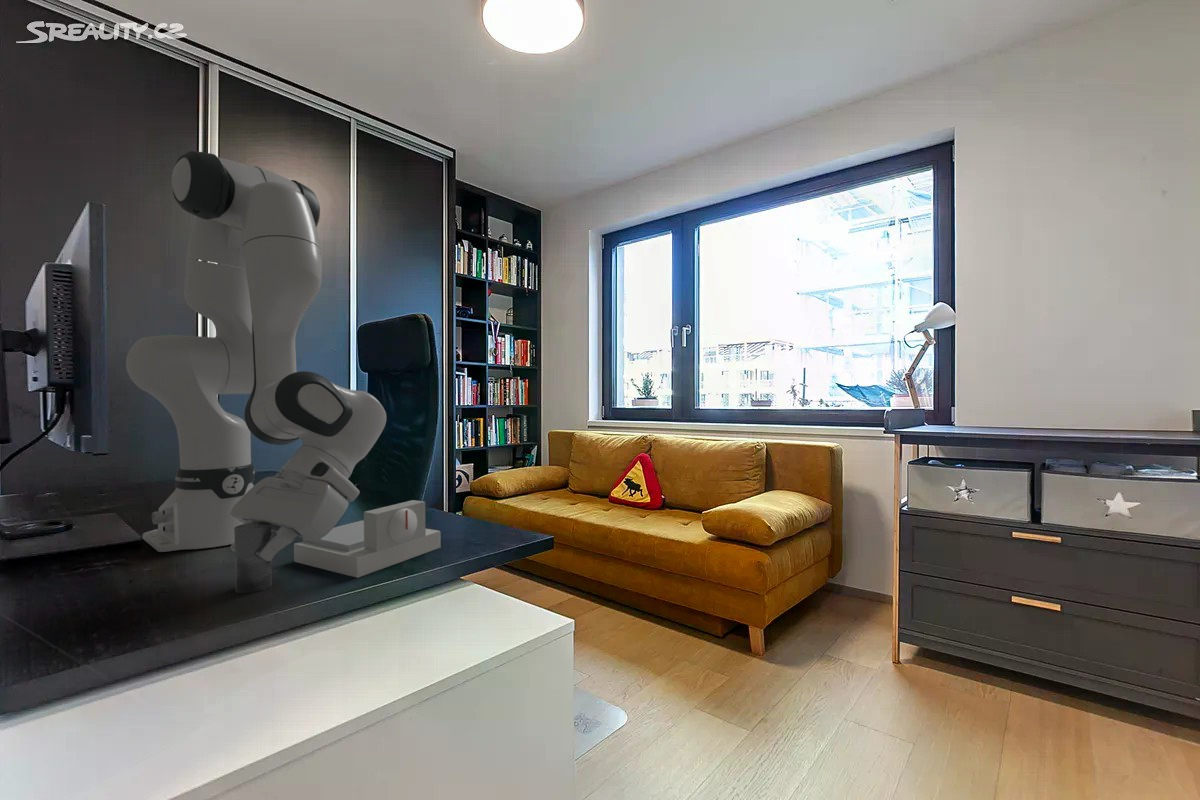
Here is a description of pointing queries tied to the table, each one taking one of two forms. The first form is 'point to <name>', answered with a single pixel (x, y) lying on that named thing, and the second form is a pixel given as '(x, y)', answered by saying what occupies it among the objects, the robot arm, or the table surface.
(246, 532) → the cylinder
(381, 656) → the table surface
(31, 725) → the table surface
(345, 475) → the robot arm
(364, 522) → the kitchen scale
